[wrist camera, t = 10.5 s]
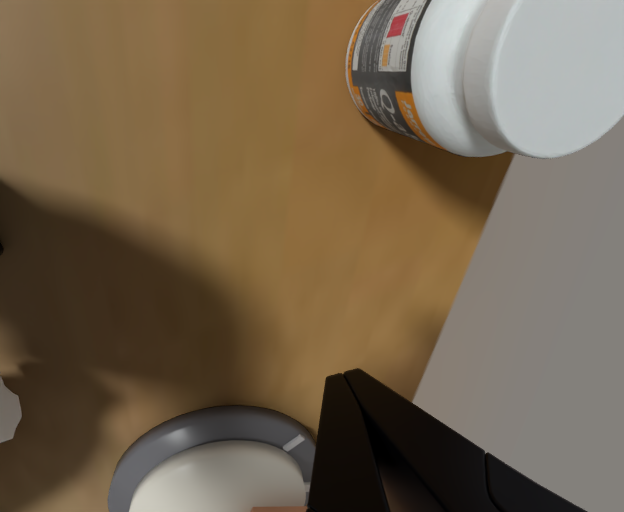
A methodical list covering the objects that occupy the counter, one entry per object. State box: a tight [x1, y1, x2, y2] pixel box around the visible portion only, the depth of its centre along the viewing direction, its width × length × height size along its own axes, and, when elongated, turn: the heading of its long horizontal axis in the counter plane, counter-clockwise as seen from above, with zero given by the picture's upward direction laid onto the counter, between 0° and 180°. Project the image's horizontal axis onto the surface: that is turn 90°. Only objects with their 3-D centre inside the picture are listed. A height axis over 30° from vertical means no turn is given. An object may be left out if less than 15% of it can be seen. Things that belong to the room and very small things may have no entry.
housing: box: [108, 406, 316, 512], centre depth 27 cm, size 15×15×1 cm
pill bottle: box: [346, 0, 624, 159], centre depth 13 cm, size 6×6×10 cm
